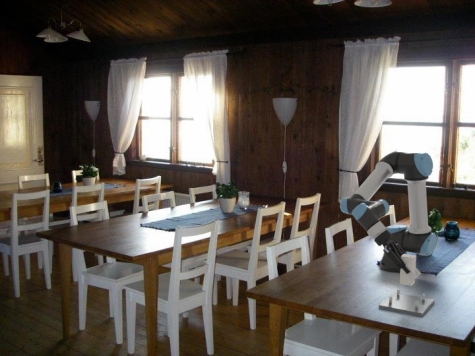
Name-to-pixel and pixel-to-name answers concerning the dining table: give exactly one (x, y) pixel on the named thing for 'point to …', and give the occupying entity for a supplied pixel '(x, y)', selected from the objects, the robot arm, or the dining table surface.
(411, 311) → the plate
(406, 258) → the block
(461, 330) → the dining table surface
